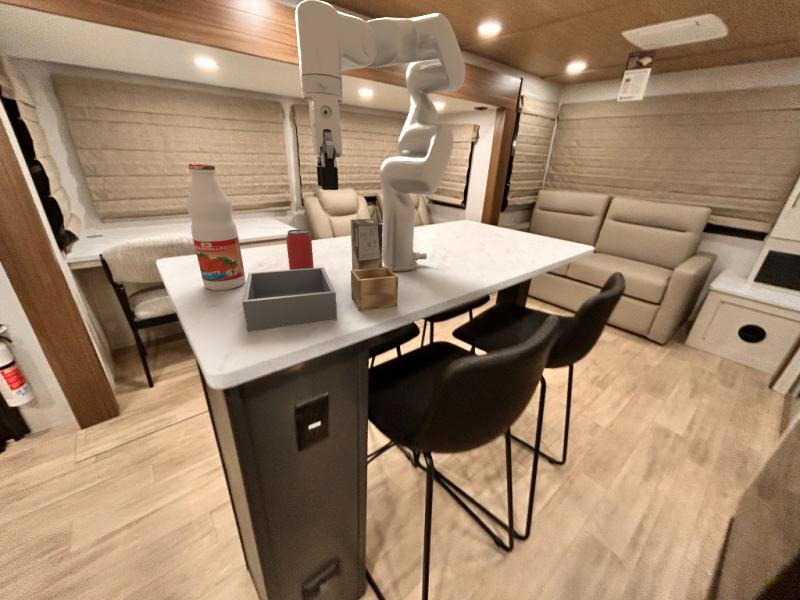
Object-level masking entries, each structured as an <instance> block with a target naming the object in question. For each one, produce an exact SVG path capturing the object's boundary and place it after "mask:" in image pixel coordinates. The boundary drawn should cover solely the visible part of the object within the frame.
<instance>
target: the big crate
mask: <svg viewBox="0 0 800 600" xmlns="http://www.w3.org/2000/svg"><path fill="white" fill-rule="evenodd" d="M242 307H243V312H244V318H245V322H246V323H245V324H246V329H247V332H253V331H260V330H262V331H263V330H268V329H275V328H276V329H277V328H284V327H291V326H298V325H306V324H307V325H308V324H313V323H314V324H315V323H320V322H321V323H322V322H329V321H335V320H338V315H337V314H338V311H337V293H336V290H335V288H334V286H333V284H332V281H331V280H330V277H329V276H328V273H327V272H326V269H325V268H324V267H314V268H308V269H294V270H290V269H284V270H282V269H281V270H269V271H257V272H254V271H253V272H248V273H247V278H246V281H245V287H244V293H243V298H242Z"/></svg>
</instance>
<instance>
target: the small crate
mask: <svg viewBox="0 0 800 600" xmlns="http://www.w3.org/2000/svg"><path fill="white" fill-rule="evenodd" d="M350 291H351V292H350V293H351V300H352V302H353V304H354V306H355V307H356V308H357V309H356V310H358V312H359V311H367V310H376V309H383V308H391V307H397V306H398V297H399V296H398V295H399V293H398V292H399V276H398V275H397V274H396V273H395V271H391V270H390V269H389V268H388V267H387V268H374V269H362V270H350Z"/></svg>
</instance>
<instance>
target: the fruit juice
mask: <svg viewBox="0 0 800 600" xmlns="http://www.w3.org/2000/svg"><path fill="white" fill-rule="evenodd" d="M188 169H189V172H190V173H191V185H190V190H189V194H188V196H187V198H186V201H185V207H186V211H187V212H188V214H189V216H190V219H191V224H190V225H191V227H190V230H191V236H192V241H193V245H194V247H195V252H196V253H195V254H196V257H197V261H198V266H199V269H200V274H201V279H202V283H203V285H204V288H206V289H207V290H211V291H226V290H232V289H235V288H240V287H241V286H243V285H244V284H246V274H245V268H244V261H243V257H242V251H241V246H240V240H239V232H238V229H237V225H236V223H235V222H234V219H233V210H234V207H233V205H232V202H231V200H230V198H229V196H228V195H226V194H225V192H224V191H223V189H222V187H221V185H220V183H219V181H218V180H217V177H216V167H215V165H214V164H211V163H210V164H208V163H207V164H206V163H205V164H204V163H188Z"/></svg>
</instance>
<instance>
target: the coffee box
mask: <svg viewBox="0 0 800 600" xmlns="http://www.w3.org/2000/svg"><path fill="white" fill-rule="evenodd" d="M350 237H351V238H350V240H351V241H350V243H351V268H352V270H362V269H374V268H382V243H383V223H380V222H378V221H377V220H375V219H373V218H360V219H359V218H358V219H350Z"/></svg>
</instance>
